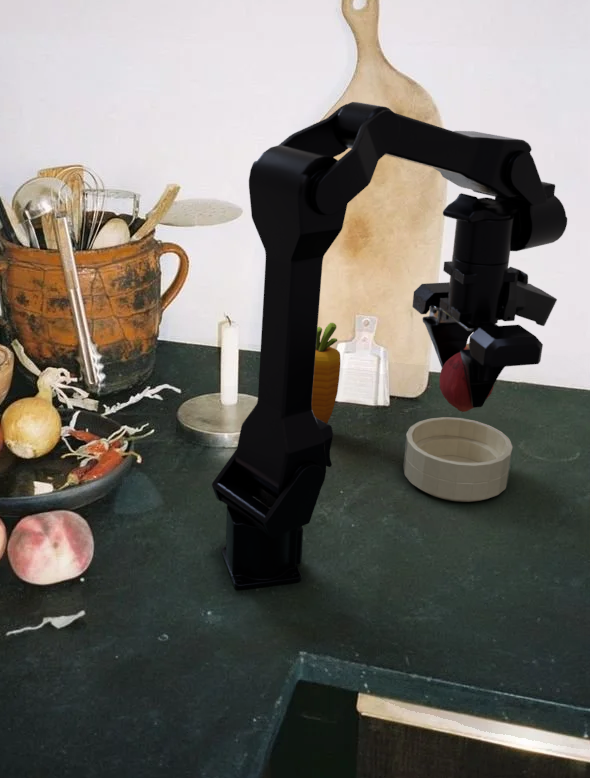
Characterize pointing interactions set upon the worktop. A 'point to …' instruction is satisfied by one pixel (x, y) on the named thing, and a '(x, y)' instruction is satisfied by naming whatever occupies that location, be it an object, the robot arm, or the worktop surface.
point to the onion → (456, 383)
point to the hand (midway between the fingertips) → (464, 395)
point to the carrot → (325, 374)
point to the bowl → (457, 459)
